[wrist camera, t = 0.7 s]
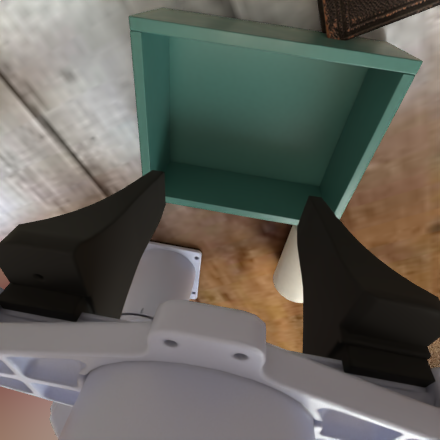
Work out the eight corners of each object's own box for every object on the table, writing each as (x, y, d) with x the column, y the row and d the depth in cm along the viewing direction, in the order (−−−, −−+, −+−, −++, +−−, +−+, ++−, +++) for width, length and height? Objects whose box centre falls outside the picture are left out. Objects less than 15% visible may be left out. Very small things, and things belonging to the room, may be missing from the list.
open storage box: (322, 189, 25) (333, 232, 20) (165, 162, 25) (144, 198, 21) (387, 41, 17) (423, 61, 13) (161, 7, 18) (128, 15, 14)
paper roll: (319, 274, 31) (315, 310, 27) (277, 260, 32) (268, 293, 28) (350, 219, 26) (350, 255, 22) (298, 204, 26) (290, 236, 23)
